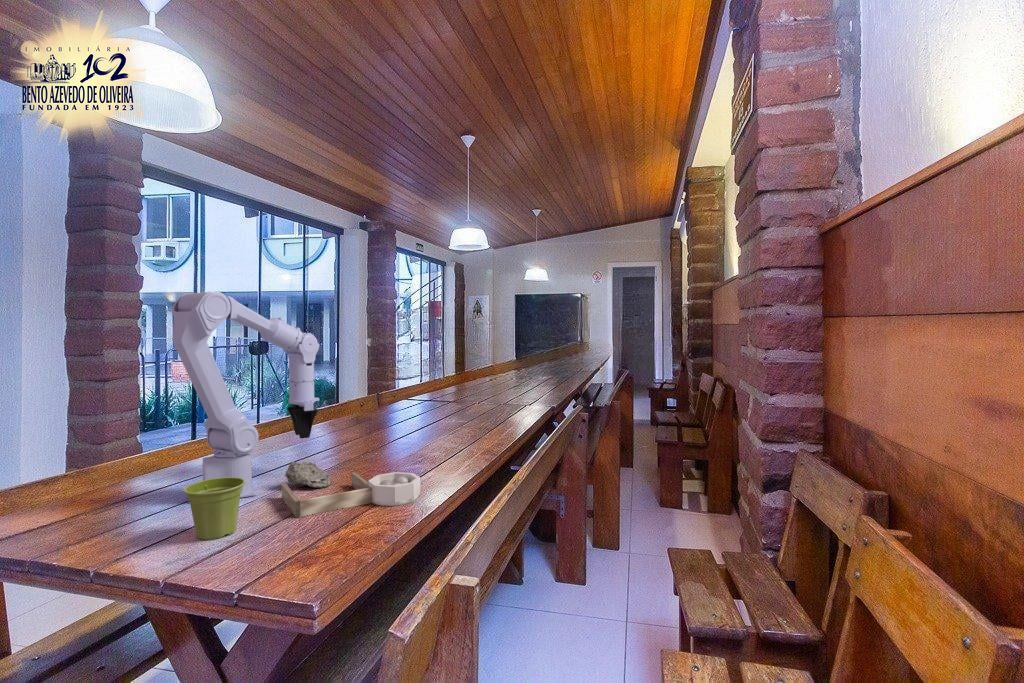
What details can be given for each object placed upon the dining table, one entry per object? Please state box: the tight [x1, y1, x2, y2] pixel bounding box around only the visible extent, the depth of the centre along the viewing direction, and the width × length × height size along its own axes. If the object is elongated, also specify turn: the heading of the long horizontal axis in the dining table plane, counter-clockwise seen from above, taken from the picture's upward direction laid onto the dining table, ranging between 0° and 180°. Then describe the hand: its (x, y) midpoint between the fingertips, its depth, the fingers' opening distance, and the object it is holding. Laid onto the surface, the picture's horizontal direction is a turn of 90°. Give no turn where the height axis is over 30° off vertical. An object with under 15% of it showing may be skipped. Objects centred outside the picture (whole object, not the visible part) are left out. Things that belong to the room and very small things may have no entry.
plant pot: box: [183, 477, 245, 541], centre depth 90 cm, size 9×9×9 cm
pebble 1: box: [379, 480, 393, 485], centre depth 109 cm, size 3×3×3 cm
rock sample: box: [283, 461, 333, 489], centre depth 118 cm, size 10×8×9 cm
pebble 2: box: [395, 476, 409, 484], centre depth 111 cm, size 3×3×3 cm
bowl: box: [367, 471, 421, 507], centre depth 109 cm, size 10×10×4 cm
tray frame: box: [281, 471, 373, 519], centre depth 108 cm, size 16×14×3 cm
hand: (302, 436), depth 127 cm, fingers open, 4 cm apart
